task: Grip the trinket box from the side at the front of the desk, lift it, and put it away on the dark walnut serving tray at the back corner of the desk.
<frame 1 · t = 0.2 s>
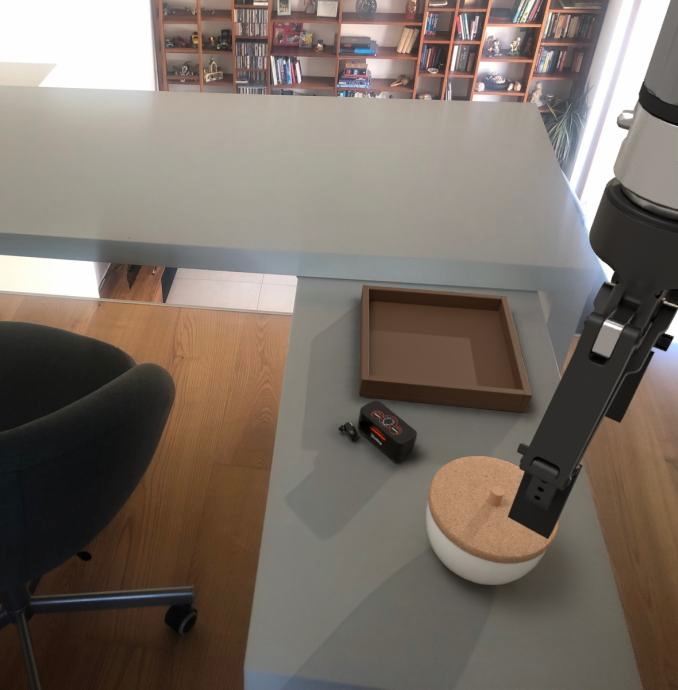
hand: (569, 464, 49), 19 cm above the table, tool pointing down, fingers open, 13 cm apart
tray: (435, 351, 87), on the table
trinket box: (473, 554, 65), on the table
wireless earbuds: (374, 441, 76), on the table
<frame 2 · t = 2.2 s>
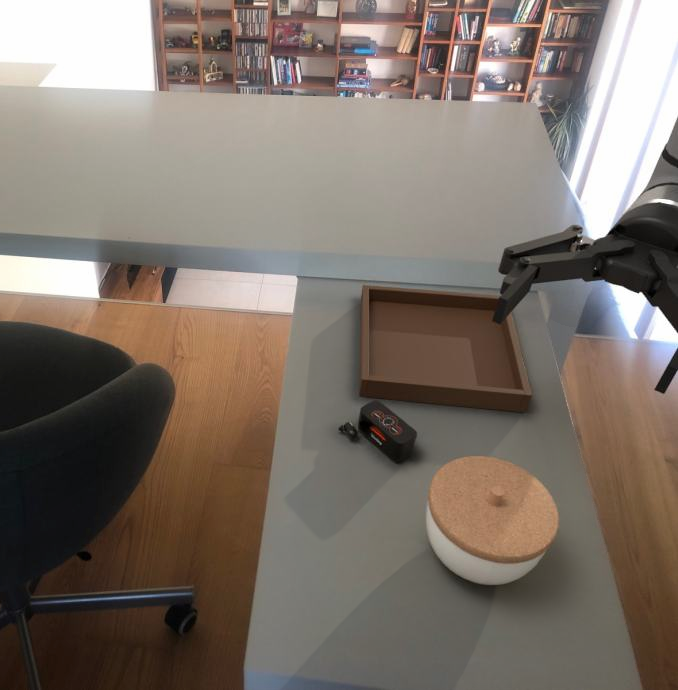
hand: (577, 343, 58), 20 cm above the table, tool horizontal, fingers open, 13 cm apart
nothing on the table moved.
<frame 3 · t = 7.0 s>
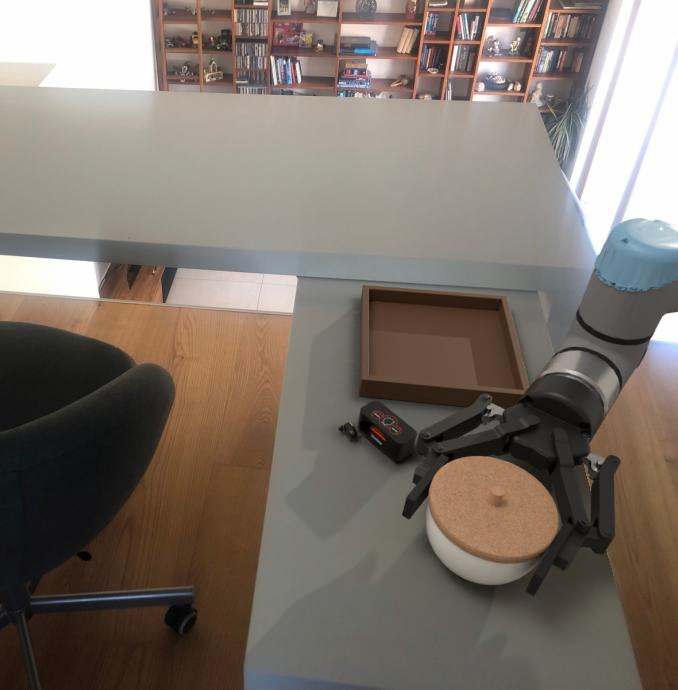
hand: (467, 545, 59), 6 cm above the table, tool horizontal, fingers closed on trinket box, 11 cm apart
trinket box: (473, 554, 65), on the table, touching gripper
everything else where it was.
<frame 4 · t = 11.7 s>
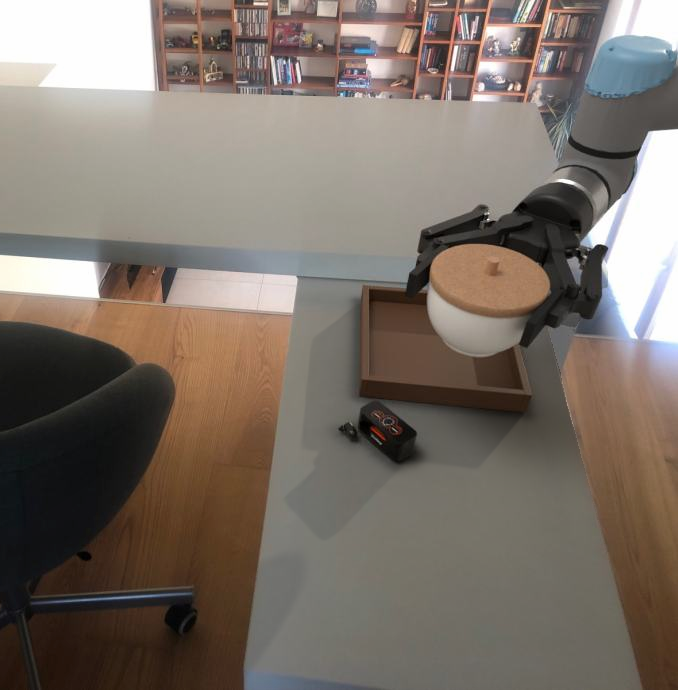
hand: (466, 309, 64), 18 cm above the table, tool horizontal, fingers closed on trinket box, 11 cm apart
trinket box: (471, 338, 70), point 12 cm above the table, touching gripper
everything else where it was.
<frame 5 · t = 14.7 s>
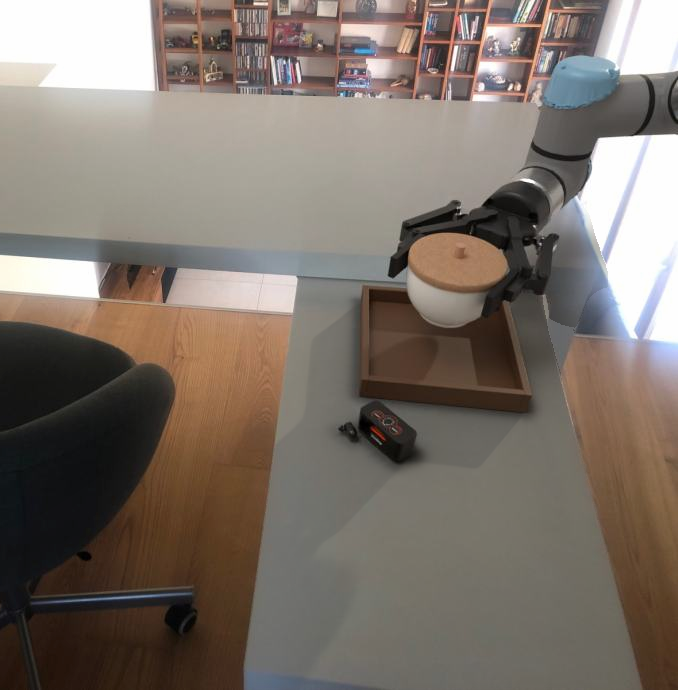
hand: (437, 286, 76), 12 cm above the table, tool horizontal, fingers closed on trinket box, 11 cm apart
trinket box: (444, 313, 83), point 6 cm above the table, touching gripper
everything else where it was.
when the fingers open (7 cm above the table, at t = 16.8 s): trinket box stays where it is, resting on tray.
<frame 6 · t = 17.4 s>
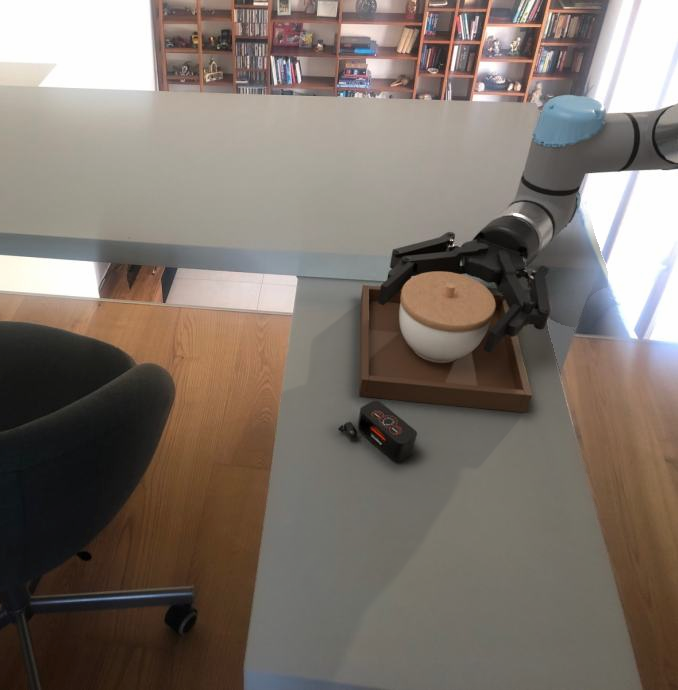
hand: (433, 317, 80), 7 cm above the table, tool horizontal, fingers open, 13 cm apart
trinket box: (435, 347, 86), point 1 cm above the table, touching tray
everything else where it was.
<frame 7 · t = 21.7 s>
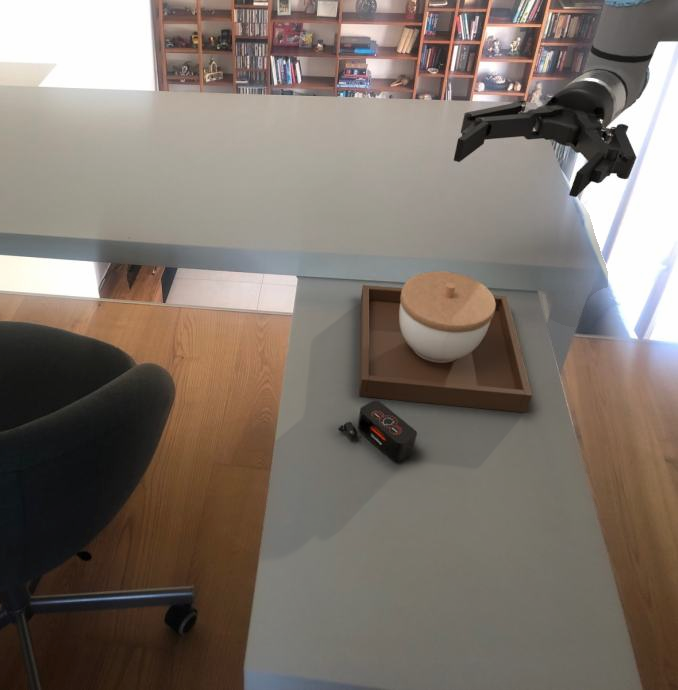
hand: (514, 167, 78), 21 cm above the table, tool horizontal, fingers open, 13 cm apart
nothing on the table moved.
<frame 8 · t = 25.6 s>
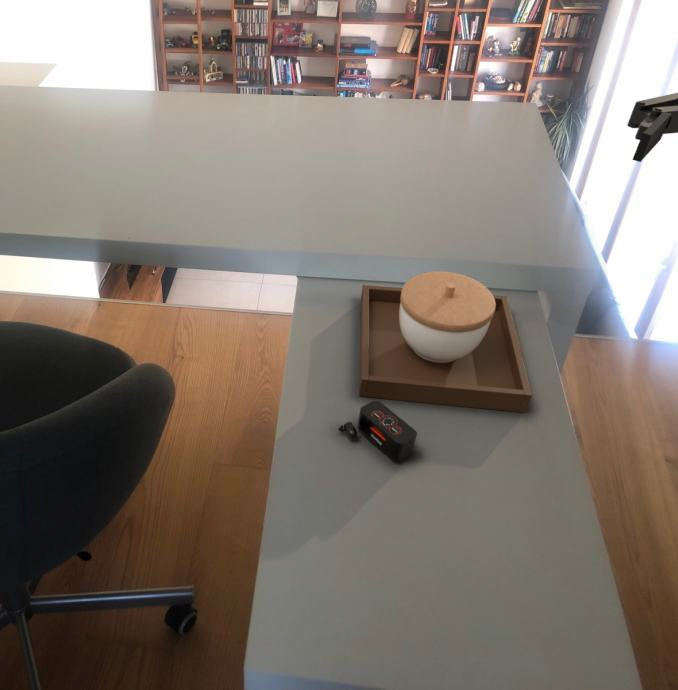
nothing on the table moved.
at the end: trinket box inside the target area in the tray (0.0 cm from its centre), point 0.6 cm above the tray's base; trinket box tilted 0°; the gripper is holding nothing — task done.
